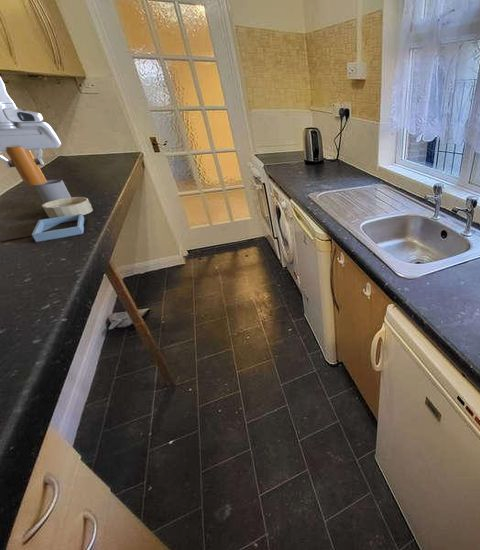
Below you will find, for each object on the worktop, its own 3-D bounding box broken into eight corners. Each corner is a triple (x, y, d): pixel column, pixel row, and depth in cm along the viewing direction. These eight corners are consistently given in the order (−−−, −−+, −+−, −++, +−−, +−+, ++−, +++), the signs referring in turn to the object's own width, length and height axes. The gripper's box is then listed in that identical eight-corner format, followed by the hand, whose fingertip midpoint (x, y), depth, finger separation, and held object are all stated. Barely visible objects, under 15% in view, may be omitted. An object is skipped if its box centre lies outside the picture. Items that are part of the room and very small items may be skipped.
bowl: (46, 223, 107) (39, 210, 105) (51, 213, 116) (44, 200, 113) (93, 216, 114) (87, 203, 112) (94, 207, 123) (88, 195, 120)
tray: (36, 242, 94) (31, 234, 93) (42, 226, 104) (38, 219, 103) (83, 233, 100) (79, 226, 99) (85, 220, 110) (81, 213, 109)
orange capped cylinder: (24, 186, 91) (-8, 132, 83) (26, 182, 94) (-4, 130, 86) (46, 183, 93) (17, 131, 86) (48, 180, 97) (20, 130, 89)
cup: (65, 209, 119) (52, 184, 114) (42, 210, 118) (27, 185, 113) (79, 203, 127) (67, 179, 121) (57, 203, 125) (44, 180, 120)
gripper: (-63, 116, 76) (-27, 171, 84) (45, 114, 87) (69, 164, 94) (-54, 115, 81) (-20, 167, 88) (47, 113, 91) (70, 160, 98)
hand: (26, 165), depth 91 cm, fingers closed on orange capped cylinder, 5 cm apart
